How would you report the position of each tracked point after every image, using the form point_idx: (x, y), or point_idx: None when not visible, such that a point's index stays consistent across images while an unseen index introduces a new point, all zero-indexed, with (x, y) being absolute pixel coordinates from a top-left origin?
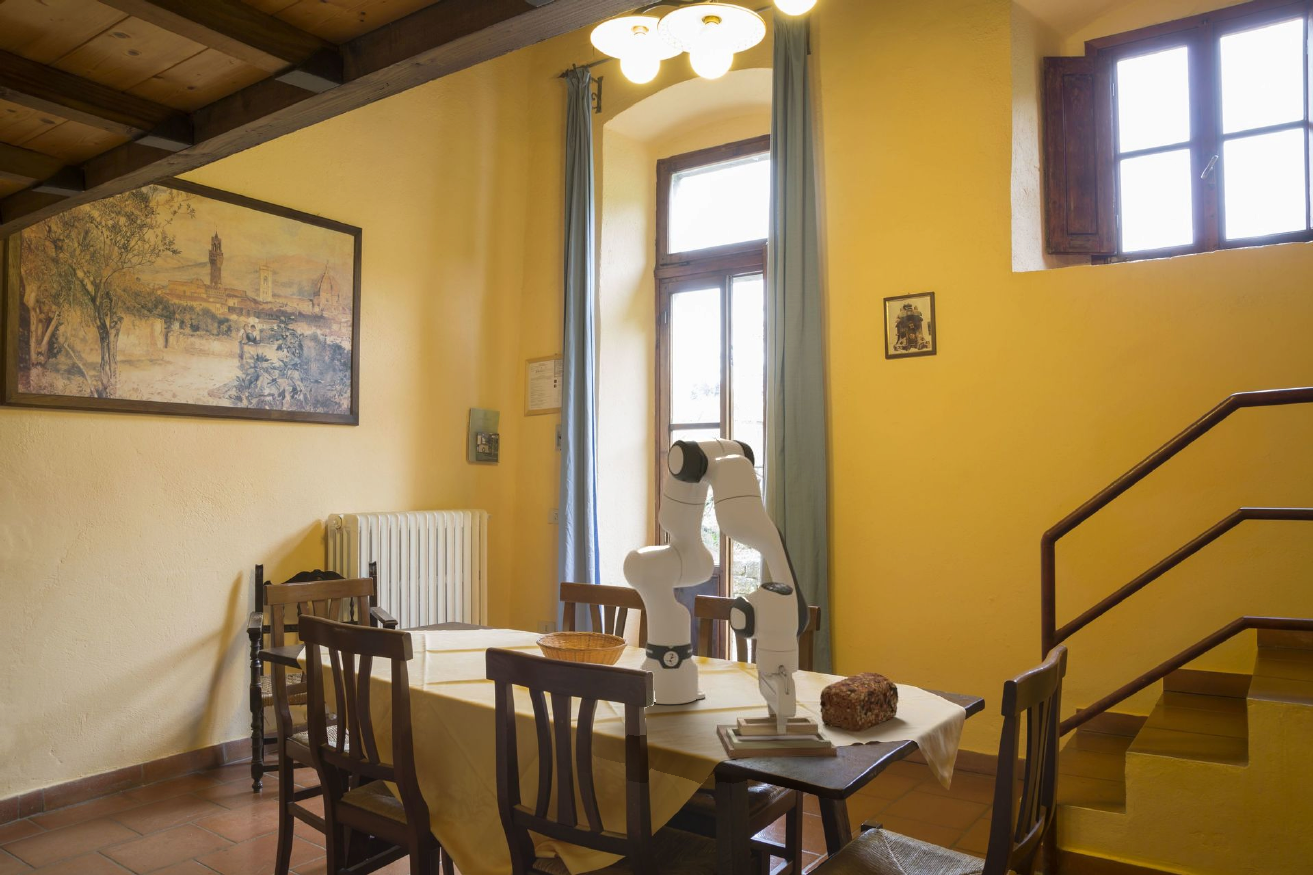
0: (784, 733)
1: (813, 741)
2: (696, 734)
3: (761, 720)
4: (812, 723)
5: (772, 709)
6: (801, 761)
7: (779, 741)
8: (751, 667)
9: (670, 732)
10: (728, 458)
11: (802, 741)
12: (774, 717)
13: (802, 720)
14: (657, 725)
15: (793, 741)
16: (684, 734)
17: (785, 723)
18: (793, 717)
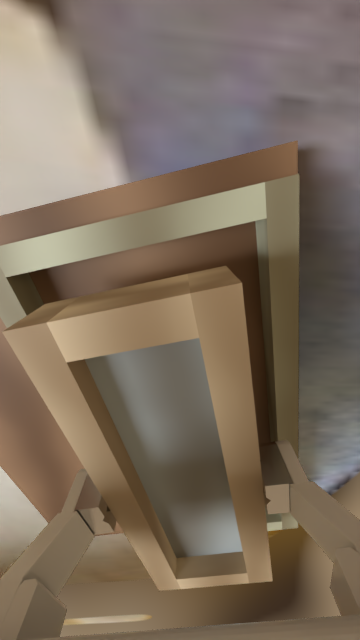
0: (287, 441)
1: (293, 291)
2: (108, 541)
3: (158, 532)
4: (214, 327)
5: (66, 557)
6: (343, 323)
7: (286, 429)
8: None
9: (110, 570)
10: None
11: (291, 345)
12: (117, 507)
13: (85, 377)
14: (68, 584)
15: (288, 382)
16: (116, 555)
17: (326, 497)
18: (82, 435)
